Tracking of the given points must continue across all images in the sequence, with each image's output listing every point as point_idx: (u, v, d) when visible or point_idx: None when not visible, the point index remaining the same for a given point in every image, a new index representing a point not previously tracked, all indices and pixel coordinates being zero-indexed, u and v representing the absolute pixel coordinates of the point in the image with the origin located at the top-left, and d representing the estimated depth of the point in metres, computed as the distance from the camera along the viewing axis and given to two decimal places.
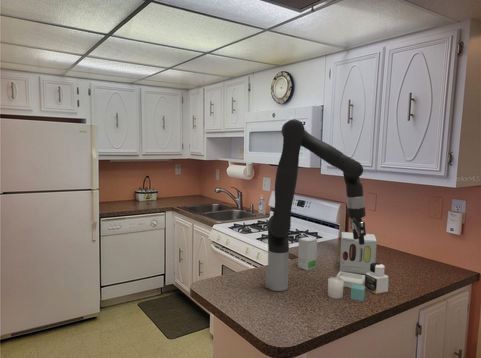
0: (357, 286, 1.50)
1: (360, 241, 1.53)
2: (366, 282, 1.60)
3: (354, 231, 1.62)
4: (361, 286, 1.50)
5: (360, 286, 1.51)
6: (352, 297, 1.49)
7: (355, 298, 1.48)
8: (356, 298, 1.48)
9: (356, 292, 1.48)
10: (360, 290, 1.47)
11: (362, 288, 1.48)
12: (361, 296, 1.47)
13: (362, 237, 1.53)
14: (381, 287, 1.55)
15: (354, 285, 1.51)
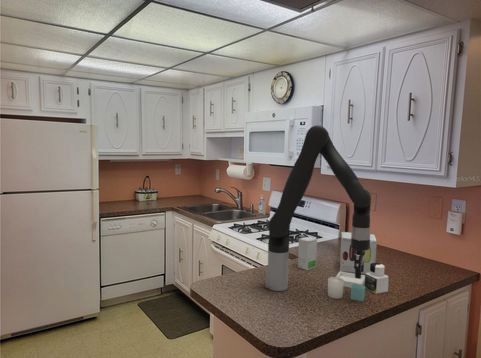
0: (357, 286, 1.50)
1: (356, 274, 1.45)
2: (366, 282, 1.60)
3: None
4: (361, 286, 1.50)
5: (360, 286, 1.51)
6: (352, 297, 1.49)
7: (355, 298, 1.48)
8: (356, 298, 1.48)
9: (356, 292, 1.48)
10: (360, 290, 1.47)
11: (362, 288, 1.48)
12: (361, 296, 1.47)
13: (358, 271, 1.44)
14: (381, 287, 1.55)
15: (354, 285, 1.51)
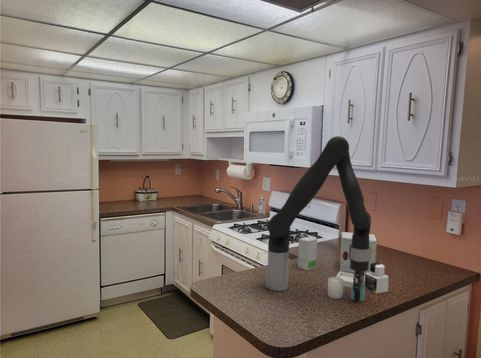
0: None
1: (355, 296, 1.47)
2: (366, 282, 1.60)
3: None
4: (361, 286, 1.50)
5: None
6: (352, 297, 1.49)
7: None
8: None
9: None
10: None
11: (362, 288, 1.48)
12: (361, 296, 1.47)
13: (357, 292, 1.47)
14: (381, 287, 1.55)
15: None
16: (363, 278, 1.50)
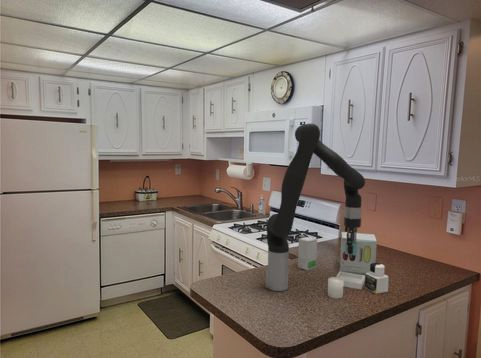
0: None
1: (348, 250, 1.63)
2: (366, 282, 1.60)
3: None
4: (354, 242, 1.66)
5: None
6: (346, 252, 1.64)
7: None
8: None
9: None
10: (353, 245, 1.63)
11: (355, 243, 1.64)
12: (354, 250, 1.63)
13: (350, 247, 1.62)
14: (381, 287, 1.55)
15: None
16: (356, 235, 1.66)
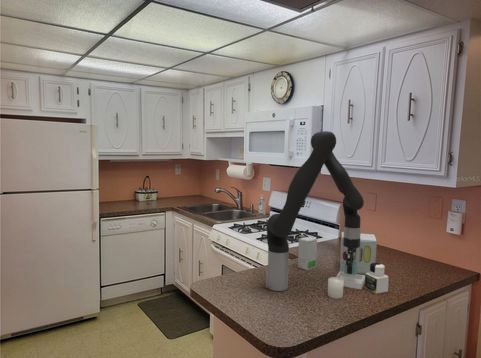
0: None
1: (347, 270, 1.64)
2: (366, 282, 1.60)
3: None
4: (353, 262, 1.67)
5: None
6: (345, 271, 1.65)
7: None
8: None
9: None
10: None
11: (354, 263, 1.65)
12: (353, 270, 1.64)
13: (349, 267, 1.63)
14: (381, 287, 1.55)
15: None
16: (355, 254, 1.67)
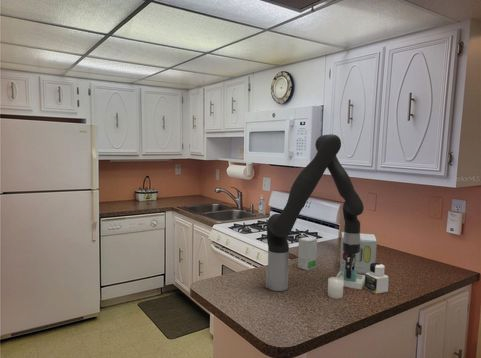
0: None
1: (346, 275, 1.63)
2: (366, 282, 1.60)
3: None
4: (352, 271, 1.67)
5: (352, 270, 1.67)
6: (345, 280, 1.66)
7: None
8: None
9: None
10: (352, 274, 1.64)
11: (354, 272, 1.65)
12: (353, 279, 1.64)
13: (348, 271, 1.62)
14: (381, 287, 1.55)
15: None
16: (355, 259, 1.67)
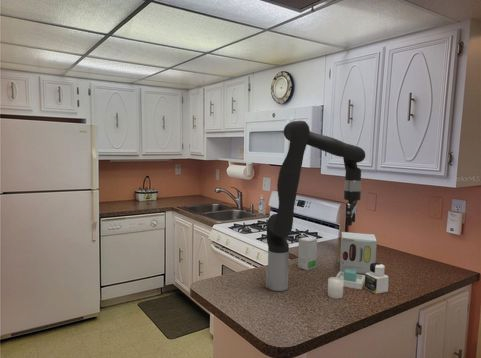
0: (349, 270, 1.67)
1: (347, 222, 1.64)
2: (366, 282, 1.60)
3: None
4: (352, 271, 1.67)
5: (352, 270, 1.67)
6: (345, 280, 1.66)
7: None
8: None
9: (349, 275, 1.65)
10: (352, 274, 1.64)
11: (354, 272, 1.65)
12: (353, 279, 1.64)
13: (349, 218, 1.63)
14: (381, 287, 1.55)
15: (347, 270, 1.68)
16: (356, 208, 1.69)
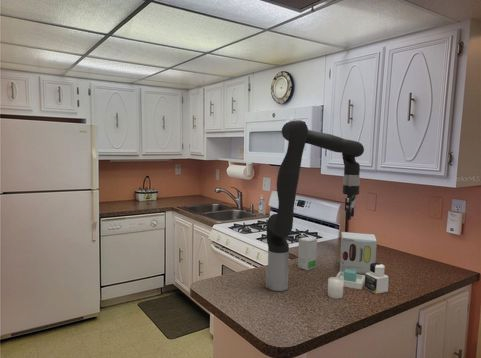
0: (349, 270, 1.67)
1: (346, 216, 1.65)
2: (366, 282, 1.60)
3: (350, 208, 1.73)
4: (352, 271, 1.67)
5: (352, 270, 1.67)
6: (345, 280, 1.66)
7: None
8: None
9: (349, 275, 1.65)
10: (352, 274, 1.64)
11: (354, 272, 1.65)
12: (353, 279, 1.64)
13: (348, 212, 1.64)
14: (381, 287, 1.55)
15: (347, 270, 1.68)
16: (354, 202, 1.69)
